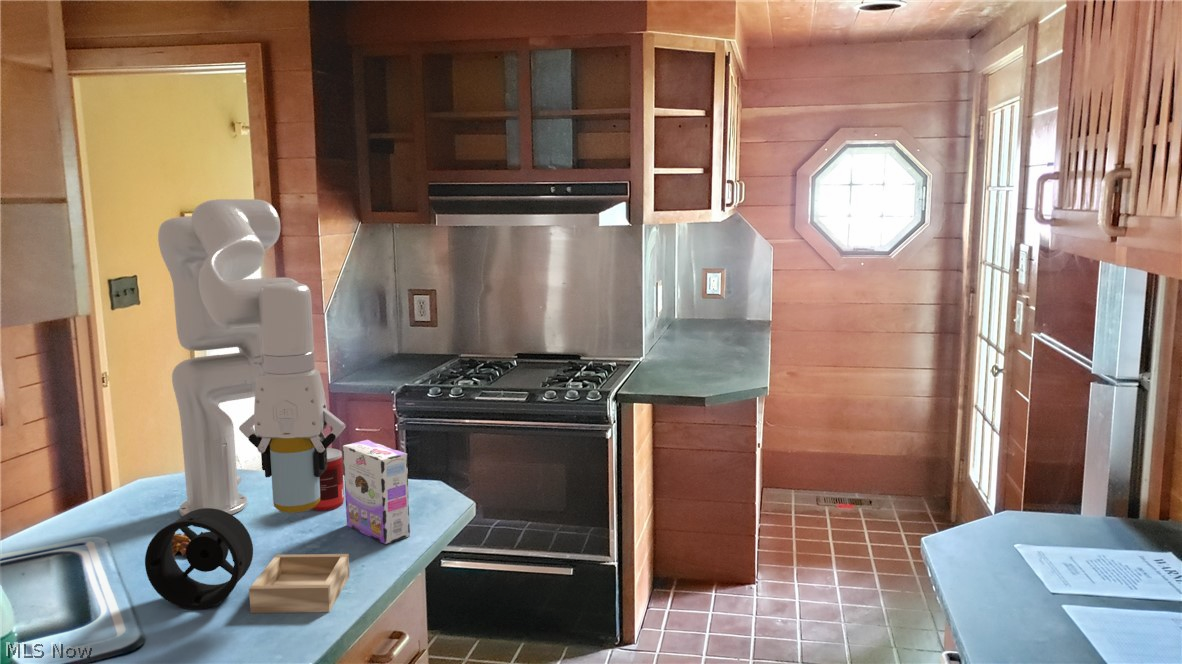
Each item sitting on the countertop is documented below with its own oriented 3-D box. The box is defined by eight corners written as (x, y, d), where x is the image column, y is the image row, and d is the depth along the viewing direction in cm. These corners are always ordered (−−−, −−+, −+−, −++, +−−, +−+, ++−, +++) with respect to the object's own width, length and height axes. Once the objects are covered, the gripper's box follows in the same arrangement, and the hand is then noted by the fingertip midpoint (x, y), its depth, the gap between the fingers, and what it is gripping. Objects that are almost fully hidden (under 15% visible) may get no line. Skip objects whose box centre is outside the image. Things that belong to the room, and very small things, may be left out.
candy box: (411, 536, 154) (408, 452, 151) (384, 546, 149) (381, 460, 147) (371, 517, 163) (368, 437, 160) (345, 525, 159) (341, 444, 156)
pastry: (172, 536, 154) (171, 518, 154) (221, 546, 150) (220, 528, 149) (141, 551, 148) (139, 533, 147) (191, 561, 144) (189, 543, 143)
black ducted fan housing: (261, 498, 133) (234, 522, 124) (267, 580, 136) (241, 610, 126) (174, 497, 133) (140, 521, 124) (181, 580, 136) (148, 610, 126)
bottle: (328, 499, 132) (324, 409, 129) (305, 515, 125) (300, 421, 122) (289, 496, 133) (284, 406, 130) (264, 512, 126) (258, 418, 124)
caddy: (277, 577, 137) (276, 554, 136) (349, 576, 137) (348, 553, 137) (250, 613, 125) (248, 588, 125) (329, 611, 126) (328, 587, 125)
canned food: (328, 494, 175) (326, 445, 173) (352, 503, 170) (350, 452, 168) (297, 505, 169) (294, 454, 167) (321, 514, 164) (318, 462, 162)
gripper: (221, 368, 121) (229, 483, 124) (339, 368, 122) (344, 482, 125) (241, 358, 128) (248, 467, 131) (352, 358, 129) (357, 466, 132)
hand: (295, 473), depth 128 cm, fingers closed on bottle, 7 cm apart
